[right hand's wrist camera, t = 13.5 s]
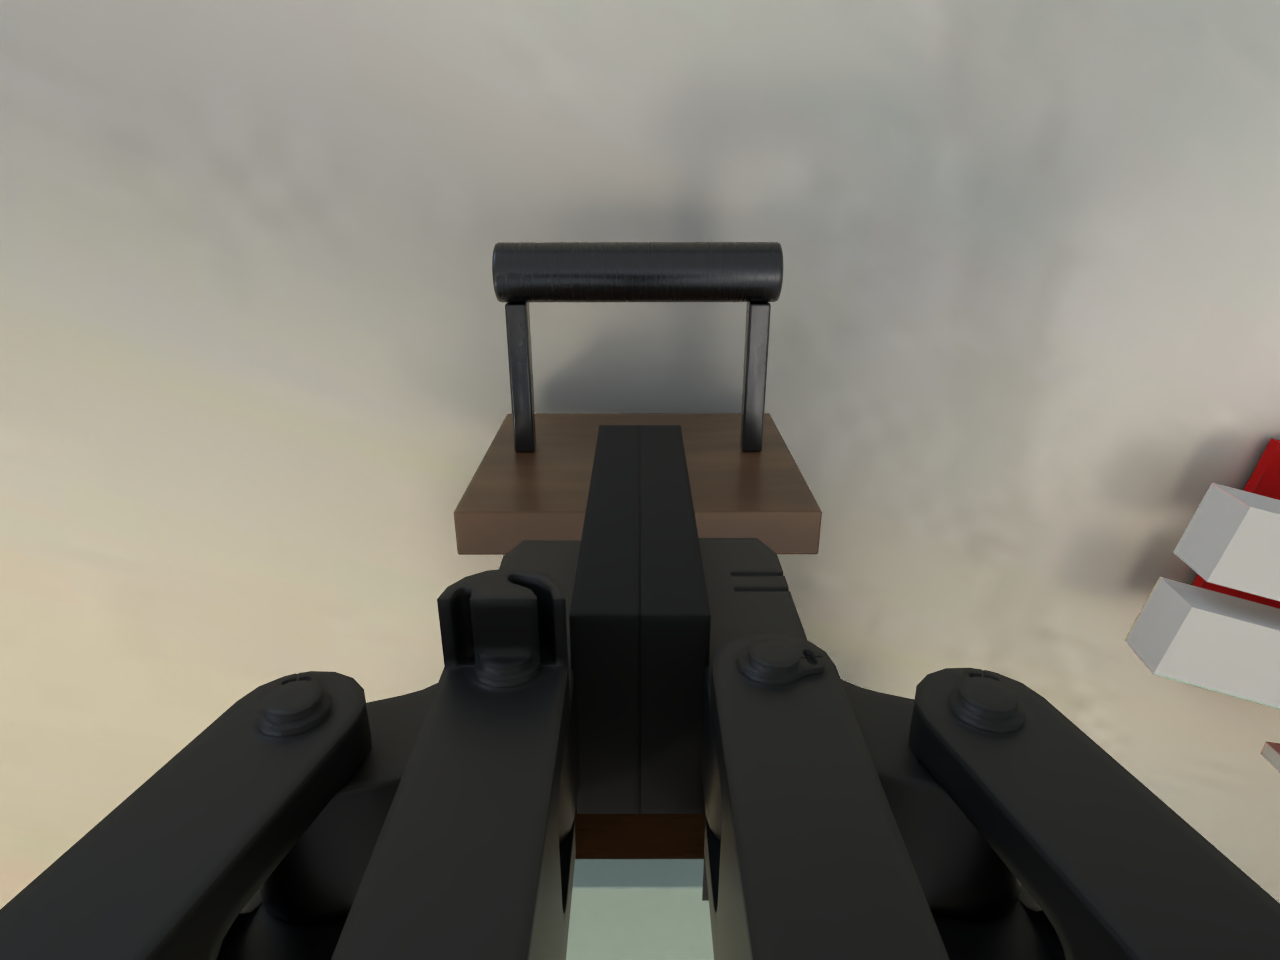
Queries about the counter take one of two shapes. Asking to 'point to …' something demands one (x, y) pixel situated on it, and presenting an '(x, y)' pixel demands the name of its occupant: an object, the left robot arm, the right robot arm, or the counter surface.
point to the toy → (1223, 597)
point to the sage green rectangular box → (639, 910)
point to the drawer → (565, 443)
